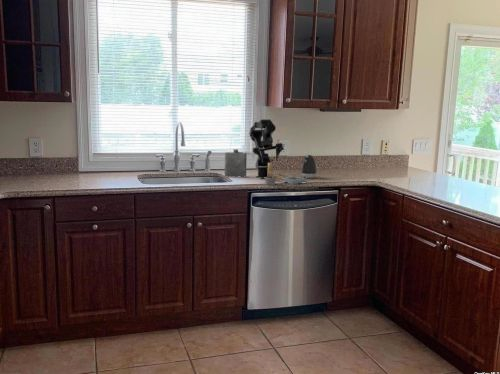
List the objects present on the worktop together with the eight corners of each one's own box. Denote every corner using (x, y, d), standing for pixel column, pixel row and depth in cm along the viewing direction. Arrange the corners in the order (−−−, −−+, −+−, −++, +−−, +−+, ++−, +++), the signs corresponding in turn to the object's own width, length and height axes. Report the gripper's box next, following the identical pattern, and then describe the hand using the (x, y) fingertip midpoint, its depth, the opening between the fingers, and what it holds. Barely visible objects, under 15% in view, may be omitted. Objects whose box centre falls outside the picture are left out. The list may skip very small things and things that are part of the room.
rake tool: (265, 183, 307) (265, 162, 305) (273, 183, 308) (273, 162, 305) (266, 185, 302) (266, 163, 300) (274, 185, 303) (275, 163, 300)
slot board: (270, 178, 325) (270, 174, 324) (282, 177, 330) (282, 173, 330) (281, 181, 315) (281, 177, 314) (293, 180, 320) (294, 176, 320)
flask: (225, 175, 335) (225, 148, 331) (246, 176, 334) (246, 149, 330) (224, 176, 331) (224, 149, 328) (246, 177, 330) (246, 149, 327)
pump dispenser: (297, 177, 331) (298, 154, 328) (307, 176, 338) (308, 153, 336) (309, 179, 324) (310, 156, 321) (319, 178, 331) (320, 155, 328)
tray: (281, 181, 314) (281, 177, 314) (295, 180, 320) (295, 176, 320) (292, 184, 305) (292, 180, 305) (306, 183, 311) (306, 178, 311)
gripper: (249, 136, 310) (251, 160, 306) (279, 131, 306) (281, 155, 302) (254, 142, 321) (256, 165, 316) (282, 137, 317) (285, 160, 312)
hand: (269, 161), depth 311 cm, fingers open, 9 cm apart
